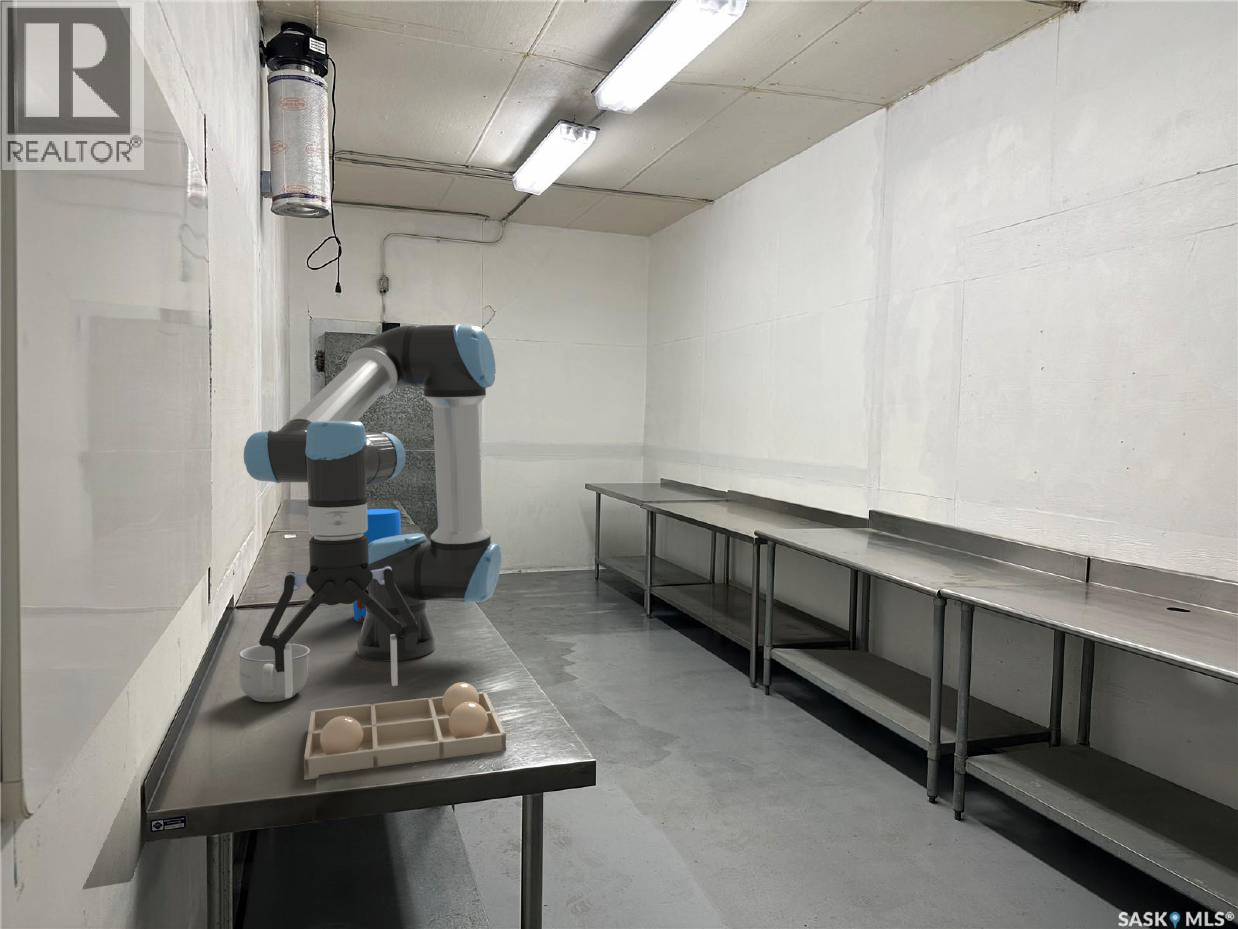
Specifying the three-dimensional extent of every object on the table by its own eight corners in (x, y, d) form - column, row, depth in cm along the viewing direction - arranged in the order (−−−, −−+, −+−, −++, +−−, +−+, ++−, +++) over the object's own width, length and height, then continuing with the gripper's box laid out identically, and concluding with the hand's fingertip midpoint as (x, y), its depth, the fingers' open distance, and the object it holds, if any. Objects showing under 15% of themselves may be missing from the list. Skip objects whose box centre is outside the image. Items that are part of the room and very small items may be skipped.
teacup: (254, 686, 136) (253, 641, 135) (318, 684, 137) (317, 640, 136) (220, 716, 122) (219, 666, 121) (292, 715, 123) (291, 665, 122)
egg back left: (440, 714, 122) (440, 679, 122) (476, 710, 124) (476, 675, 123) (444, 728, 117) (444, 691, 116) (481, 723, 118) (481, 687, 118)
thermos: (343, 620, 179) (341, 513, 178) (374, 609, 189) (372, 508, 188) (381, 625, 175) (380, 515, 174) (410, 614, 185) (409, 510, 184)
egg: (321, 751, 108) (320, 712, 108) (363, 746, 110) (362, 707, 110) (319, 768, 103) (318, 727, 103) (363, 762, 105) (363, 722, 104)
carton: (311, 727, 118) (311, 710, 117) (485, 708, 126) (485, 691, 126) (304, 780, 101) (303, 759, 101) (505, 753, 109) (505, 734, 109)
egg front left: (446, 735, 114) (446, 698, 113) (484, 731, 116) (484, 694, 115) (451, 751, 109) (450, 712, 108) (491, 746, 110) (490, 707, 110)
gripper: (232, 545, 97) (238, 709, 99) (435, 535, 105) (438, 687, 107) (240, 535, 104) (246, 689, 106) (430, 526, 112) (433, 669, 114)
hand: (342, 688), depth 106 cm, fingers open, 13 cm apart
